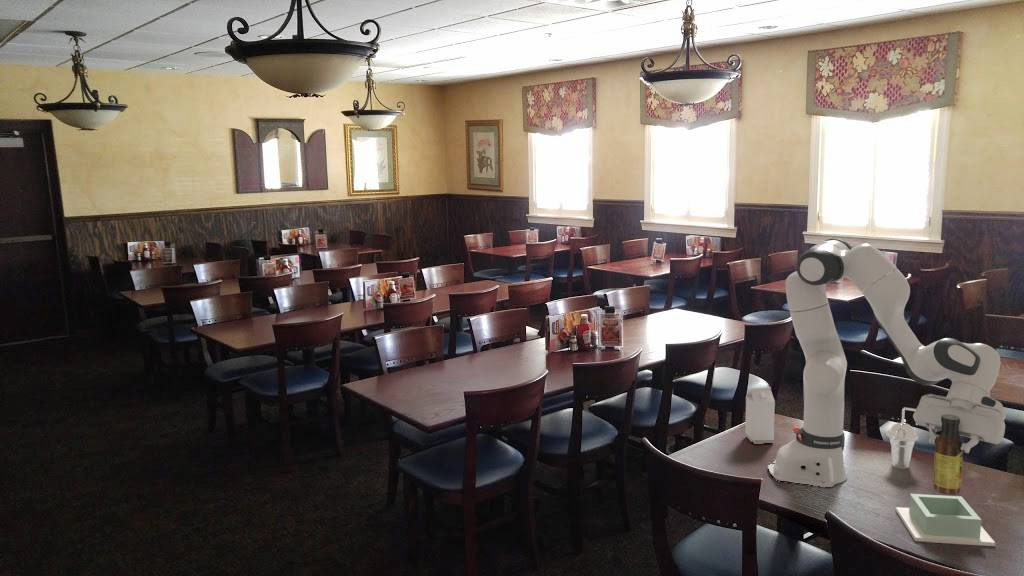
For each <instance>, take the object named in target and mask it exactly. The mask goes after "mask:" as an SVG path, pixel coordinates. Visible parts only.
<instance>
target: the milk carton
mask: <svg viewBox="0 0 1024 576" xmlns="http://www.w3.org/2000/svg"><path fill="white" fill-rule="evenodd" d="M749 390H750V391H749V392H748V393H747V395H746V396H745V430H744V431H745V433H746V434H747V435H748V436H749V437H750V438H751V439H752V440H774V441H775V416H776V415H775V409H776V408H775V407H776V400H775V398H774V395H773V392H772V387H771V386H764V387H763V386H761V387H750V389H749ZM745 433H744V434H745Z"/></svg>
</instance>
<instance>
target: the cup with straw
mask: <svg viewBox="0 0 1024 576" xmlns="http://www.w3.org/2000/svg"><path fill="white" fill-rule="evenodd" d="M916 409H917V408H912V407H903V408H902V410H901V422H897V423H895V424H893V425H892V426H891V428H890V429H888V431H887V433H886V435H887V437H889V443H890V449H891V452H890V453H891V462H892V466H893V467H894V468H897V469H900V470H901V469H902V470H903V469H904V470H905V469H906V468H907V469H909V468H910V467H909V465H910V462H911V458H912V454H913V453H912V452H913V448H914V445H915V443H916V442H915V441H917V440H919V437H918V433H916V432H915V429H914V428H913V427H912V426H911V424H908V423H906V422H905V413H906V412H905V411H911V412H915V410H916ZM908 467H909V468H908Z"/></svg>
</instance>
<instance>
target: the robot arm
mask: <svg viewBox="0 0 1024 576" xmlns="http://www.w3.org/2000/svg"><path fill="white" fill-rule="evenodd" d="M796 262H797V264H796V271H793V272H792V273H791V274H789V275H788V276H787V278H786V279H785V292H786V294H785V295H786V301H787V305H788V310H789V314H790V317H791V322H792V325H793V329H794V332H795V336H796V338H797V340H798V341H799V344H800V347H801V350H802V351H803V354H804V357H805V366H804V368H803V406H804V407H803V424H802V425H803V426H802V427H801V428H800V427H799V426H798V425H793V427H792V432H793V433H794V434H795V439H793V440H791V441H790V442H788V443H786V444H785V445H782V446H781V447H779V448H778V449H777V452H776V456H775V459H774V460H775V461H774V462H773V463H775V464H770V465H768V464H767V470H768V469H769V471H770V473H771V474H772V475H773V476H774V477H775V478H777V479H780V480H785V481H792V482H798V483H803V484H809V485H808V486H810V485H813V486H812V487H818V486H820V488H825V487H831V488H833V486H835V485H838V484H842V483H844V482H845V481H846V480H847V479H848V476H847V472H846V471H847V470H846V469H845V468H846V467H845V462H844V449H845V442H846V440H845V438H846V436H845V432H844V418H845V416H844V415H845V382H846V381H845V380H846V379H845V378H846V374H847V373H846V372H847V367H848V361H847V357H846V355H845V352H844V348H843V344H842V342H841V340H840V336H839V334H838V331H837V329H836V325H835V322H834V317H833V314H832V311H831V308H830V307H831V306H830V302H829V300H828V296H827V291H826V286H827V284H829V283H832V282H836V281H839V280H841V279H842V278H845V279H848V280H850V281H851V282H852V283H853V285H854V286H855V287H856V288H857V289H858V290H859V291H860V292H861V293H862V295H863V297H864V298H865V299H866V301H867V302H868V303H869V305H870V308H871V310H872V311H873V314H874V317H875V320H876V322H877V323H878V324H879V326H880V328H881V329H882V331H883V333H884V334H885V336H886V337H887V338H888V340H889V342H890V344H892V346H893V347H894V349H895V350H896V352H897V353H898V355H899V357H900V359H901V361H902V364H903V366H904V369H905V371H906V373H907V375H908V376H909V378H911V380H913V381H914V382H915V383H917V384H919V385H921V386H933V385H936V384H937V383H940V382H942V381H943V380H945V379H948V380H950V381H951V385H950V388H949V390H948V393H947V395H946V396H944V395H937V394H934V393H928V394H924V395H922V396H921V398H920V400H919V403H918V405H917V407H916V408H915V409H916V410H915V411H913V412H914V413H913V415H912V418H913V420H914V422H915V423H916V425H917V426H920V427H921V426H922V427H926V428H928V432H929V435H930V436H929V438H928V443H929V444H931V445H936V439H937V438H938V436H936V435H935V433H937V432H938V431H941V429H942V422H941V416H942V415H945V414H949V415H955V416H958V417H959V418H960V423H959V430H958V432H959V436H960V437H961V436H962V437H965V438H970V440H969V441H968V442H967V443H965V442H963V443H962V447H961V451H962V452H963V453H964V454H965V453H966V454H969V453H970V451H971V449H972V448H973V447H975V446H976V445H978V444H979V442H980V441H982V442H984V443H985V442H986V443H990V444H993V445H999V444H1001V443H1002V442H1003V439H1004V436H1005V433H1006V431H1005V430H1006V424H1005V420H1006V417H1007V414H1006V410H1005V408H1004V406H1003V404H1002V403H1001V402H1000V401H999V400H997V399H995V398H993V397H991V390H992V388H993V387H994V386H995V384H996V382H997V379H998V376H999V373H1000V369H1001V365H1002V364H1001V362H1002V361H1001V356H1000V354H999V352H998V351H997V350H996V349H995V348H993V347H992V346H990V345H988V344H985V343H981V342H974V343H967V342H961V341H960V340H959V339H955V338H951V337H945V338H941V339H939V340H938V339H937V341H933V342H932V343H930V344H928V345H926V346H925V345H923V344H922V343H921V342H920V340H919V339H918V338H917V336H916V335H915V333H914V332H913V331H912V329H911V328H910V326H909V324H908V323H907V322H906V319H905V307H906V305H907V303H908V301H909V298H910V295H911V286H910V284H909V282H908V280H907V278H906V277H905V275H904V274H903V273H902V272H901V271H900V270H899V268H897V266H896V265H895V264H894V263H893V262H892V260H890V259H889V257H887V256H886V255H885V254H884V253H883V251H881V250H880V249H878V248H877V247H875V246H874V245H873V244H870V243H862V244H857V245H856V246H853V247H852V246H851V244H850V243H848V242H847V241H845V240H843V239H840V238H829V239H826V240H824V241H821V242H818V243H815V244H814V245H813V246H812V247H810V248H809V249H807V250H806V251H804V252H802V254H801V255H800V256H799V258H798V260H797V261H796ZM775 474H776V475H775Z"/></svg>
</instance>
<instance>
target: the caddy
mask: <svg viewBox="0 0 1024 576" xmlns="http://www.w3.org/2000/svg"><path fill="white" fill-rule="evenodd" d="M908 503H909V504H908V505H909V506H908V507H897V506H896V507H895V511H896V514H897V515H898V516H899V518H900V520H901V521H902V523H903V524H904V526H905V528H906V529H907V530H908V532H909V534H910V535H911V537H912V538H913V540H914V542H923V543H936V544H937V543H938V544H939V543H941V544H953V545H968V546H985V547H996V542H995V540H994V539H993V538H992V537H991V536H990V535H989V533H988V532H987V531H986V530H985V529H984V527H983V526H982V518H981V517H980V516H979V515H978V514H977V513H976V511H974V509H973V508H972V507H971V506H970V504H969V503H968V502H967V501H966V500H965V498H964V497H963V496H962V495H961V496H959V495H945V494H943V495H940V494H939V495H938V494H922V493H909V502H908Z"/></svg>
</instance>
